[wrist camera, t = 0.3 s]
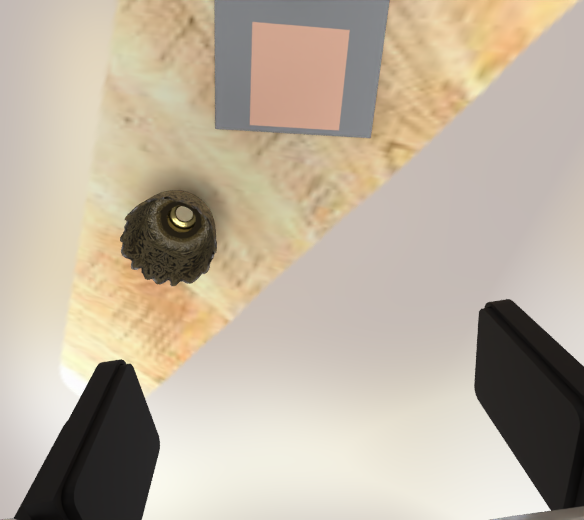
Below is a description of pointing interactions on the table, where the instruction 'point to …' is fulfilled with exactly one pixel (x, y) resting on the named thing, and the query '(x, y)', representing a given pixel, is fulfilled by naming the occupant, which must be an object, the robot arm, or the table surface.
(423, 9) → the table surface
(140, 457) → the robot arm
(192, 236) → the cup
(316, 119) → the mat
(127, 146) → the table surface
